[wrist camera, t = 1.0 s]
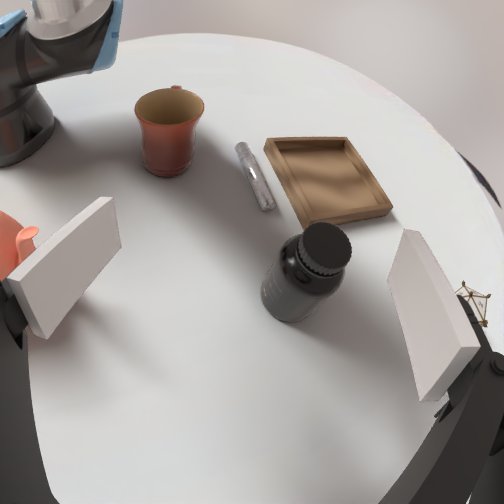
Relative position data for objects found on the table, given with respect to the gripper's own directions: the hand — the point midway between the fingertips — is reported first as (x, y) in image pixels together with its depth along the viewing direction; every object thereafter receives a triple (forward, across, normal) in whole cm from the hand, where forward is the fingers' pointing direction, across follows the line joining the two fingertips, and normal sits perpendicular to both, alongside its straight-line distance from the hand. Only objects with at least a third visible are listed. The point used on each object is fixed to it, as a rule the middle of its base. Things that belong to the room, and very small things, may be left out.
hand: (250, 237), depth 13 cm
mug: (+31, -17, -5) cm, 35 cm away
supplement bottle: (+17, +3, -17) cm, 24 cm away
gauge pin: (+31, -4, -8) cm, 32 cm away
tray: (+36, +7, -9) cm, 38 cm away
